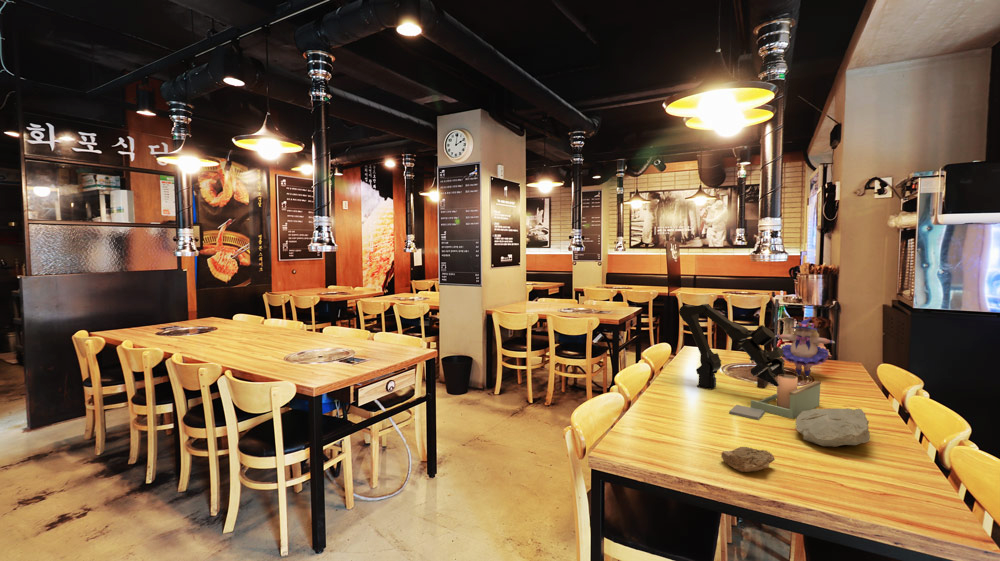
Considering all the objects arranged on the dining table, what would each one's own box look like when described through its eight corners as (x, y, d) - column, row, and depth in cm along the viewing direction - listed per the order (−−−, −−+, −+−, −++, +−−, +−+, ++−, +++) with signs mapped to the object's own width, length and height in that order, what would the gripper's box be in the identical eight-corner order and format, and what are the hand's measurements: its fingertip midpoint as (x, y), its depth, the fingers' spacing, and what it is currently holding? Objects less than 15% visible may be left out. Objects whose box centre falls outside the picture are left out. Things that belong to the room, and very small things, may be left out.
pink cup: (774, 407, 183) (775, 376, 183) (778, 403, 188) (779, 373, 188) (794, 411, 179) (795, 379, 178) (797, 406, 184) (799, 376, 183)
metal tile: (729, 413, 176) (729, 411, 176) (736, 407, 184) (736, 404, 183) (758, 420, 169) (758, 417, 169) (764, 412, 177) (764, 410, 177)
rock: (716, 468, 132) (717, 451, 132) (725, 455, 140) (725, 439, 140) (769, 482, 124) (770, 464, 124) (775, 467, 132) (775, 451, 132)
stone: (794, 448, 146) (874, 456, 135) (791, 418, 147) (870, 423, 135) (801, 425, 173) (868, 430, 161) (798, 400, 174) (865, 403, 162)
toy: (769, 376, 228) (772, 316, 226) (777, 368, 244) (779, 312, 242) (831, 386, 212) (834, 321, 210) (836, 376, 228) (838, 316, 226)
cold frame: (750, 407, 183) (751, 383, 182) (778, 396, 198) (779, 373, 197) (793, 419, 170) (794, 393, 170) (819, 405, 185) (820, 381, 184)
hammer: (766, 396, 208) (777, 374, 231) (766, 373, 207) (777, 353, 229) (754, 394, 211) (766, 372, 234) (754, 371, 210) (766, 351, 232)
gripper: (759, 343, 182) (789, 376, 174) (780, 338, 193) (809, 369, 185) (738, 359, 189) (766, 392, 181) (760, 353, 200) (787, 384, 192)
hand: (783, 384), depth 184 cm, fingers open, 9 cm apart
